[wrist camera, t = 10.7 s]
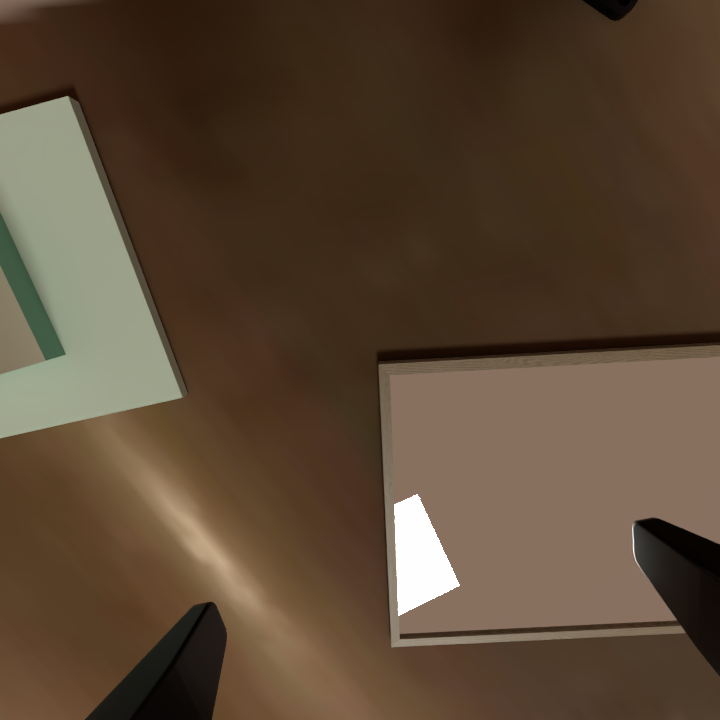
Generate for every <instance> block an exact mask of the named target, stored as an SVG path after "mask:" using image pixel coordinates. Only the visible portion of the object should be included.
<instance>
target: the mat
mask: <svg viewBox="0 0 720 720" xmlns="http://www.w3.org/2000/svg"><path fill="white" fill-rule="evenodd" d="M0 213H1V215H2V217H3V219H4V221H5V224H6V226H7V228H8V230H9V232H10V234H11V237H12V239H13V241H14V243H15V245H16V247H17V250H18V252H19V254H20V256H21V258H22V260H23V263H24V265H25V267H26V269H27V271H28V273H29V276H30V278H31V280H32V282H33V284H34V286H35V289H36V291H37V293H38V295H39V297H40V299H41V302H42V304H43V306H44V308H45V310H46V312H47V315H48V317H49V319H50V321H51V323H52V325H53V328H54V330H55V332H56V334H57V336H58V338H59V341H60V343H61V345H62V347H63V349H64V351H65V354H66V355H63V356H60V357H57V358H53V359H50V360H47V361H43V362H40V363H37V364H33V365H30V366H27V367H23V368H20V369H17V370H13V371H10V372H7V373H3V374H0V438H3V437H8V436H12V435H17V434H21V433H25V432H30V431H34V430H39V429H43V428H48V427H52V426H57V425H61V424H66V423H70V422H75V421H79V420H84V419H88V418H93V417H97V416H102V415H106V414H111V413H115V412H120V411H124V410H129V409H133V408H138V407H142V406H147V405H151V404H156V403H160V402H165V401H169V400H173V399H178V398H182V397H184V396H185V395H187V394H188V392H187V390H186V387H185V384H184V382H183V379H182V376H181V374H180V371H179V368H178V366H177V363H176V360H175V358H174V355H173V352H172V350H171V347H170V344H169V342H168V339H167V336H166V334H165V331H164V328H163V326H162V323H161V320H160V318H159V315H158V312H157V310H156V307H155V304H154V302H153V299H152V296H151V294H150V291H149V288H148V286H147V283H146V280H145V278H144V275H143V272H142V270H141V267H140V264H139V262H138V259H137V256H136V254H135V251H134V248H133V246H132V243H131V240H130V238H129V235H128V232H127V230H126V227H125V224H124V222H123V219H122V216H121V214H120V211H119V208H118V206H117V203H116V200H115V198H114V195H113V192H112V190H111V187H110V184H109V182H108V179H107V176H106V174H105V171H104V168H103V166H102V163H101V160H100V158H99V155H98V152H97V150H96V147H95V144H94V142H93V139H92V136H91V134H90V131H89V128H88V126H87V123H86V120H85V118H84V115H83V112H82V110H81V107H80V104H79V102H77V101H76V100H74V99H72V98H71V97H69V96H66V97H62V98H59V99H55V100H51V101H48V102H44V103H40V104H37V105H33V106H29V107H26V108H22V109H19V110H15V111H11V112H8V113H4V114H0Z"/></svg>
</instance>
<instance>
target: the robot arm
mask: <svg viewBox="0 0 720 720" xmlns="http://www.w3.org/2000/svg"><path fill="white" fill-rule="evenodd" d="M583 1H584V2H586V3H587V4H589V5H590V6H592V7H593V8H595V9H596V10H597V11H599V12H600V13H602V14H603V15H605V16H606V17H608V18H609V19H611V20H614V21H616V20H620V19H622V18H623V17H625V16H626V15H627V14H628V13H629V12H630V11H631V10H632V8H633V7H634V6H635V4H636V3H637V1H638V0H622V1H623V3H624V7H622V6H620V5H619V3H618V0H583ZM632 530H633V552H634V557H635V559H636V561H637V563H638V565H639V567H640V568H641V570H642V571H643V572H644V574H645V575H646V577H647V578H648V580H649V581H650V582H651V584H652V585H653V587H654V588H655V590H656V591H657V592H658V594H659V595H660V597H661V598H662V599H663V601H664V602H665V604H666V605H667V607H668V608H669V609H670V611H671V612H672V614H673V615H674V617H675V618H676V619H677V621H678V622H679V624H680V625H681V626H682V628H683V629H684V631H685V632H686V634H687V635H688V636H689V638H690V639H691V640H692V642H693V643H694V645H695V646H696V647H697V649H698V650H699V651H700V652H701V654H702V655H703V656H704V657H705V659H706V660H707V661H708V662H709V664H710V665H711V666H712V667H713V669H714V670H715V671H716V672H717V673H718V675H719V676H720V544H718V543H716V542H714V541H711V540H709V539H707V538H704V537H702V536H699V535H697V534H695V533H692V532H690V531H688V530H685V529H683V528H681V527H678V526H676V525H673V524H671V523H669V522H666V521H664V520H662V519H659V518H655V517H651V518H646V519H640V520H636V521H634V523H633V526H632ZM226 641H227V632H226V628H225V625H224V623H223V621H222V618H221V616H220V613H219V611H218V609H217V606H216V605H215V604H214V603H213V602H207V603H201V604H197V605H194V606H193V607H192V608H191V609H190V610H189V611H188V612H187V613H186V614H185V615H184V616H183V617H182V618H181V619H180V620H179V621H178V622H177V623H176V624H175V625H174V626H173V627H172V629H171V630H170V631H169V632H168V633H167V634H166V635H165V636H164V637H163V638H162V639H161V640H160V641H159V642H158V643H157V644H156V645H155V646H154V647H153V648H152V650H151V651H150V652H149V653H148V654H147V655H146V656H145V657H144V658H143V659H142V660H141V661H140V662H139V663H138V664H137V665H136V666H135V667H134V668H133V670H132V671H131V672H130V673H129V674H128V675H127V676H126V677H125V678H124V679H123V680H122V681H121V682H120V683H119V684H118V685H117V686H116V687H115V688H114V689H113V691H112V692H111V693H110V694H109V695H108V696H107V697H106V698H105V699H104V700H103V701H102V702H101V703H100V704H99V705H98V706H97V707H96V708H95V709H94V711H93V712H92V713H91V714H90V715H89V716H88V717H87V718H86V719H85V720H212V716H213V711H214V705H215V700H216V695H217V690H218V684H219V679H220V674H221V668H222V663H223V658H224V653H225V647H226Z"/></svg>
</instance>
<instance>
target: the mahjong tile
mask: <svg viewBox="0 0 720 720" xmlns="http://www.w3.org/2000/svg"><path fill="white" fill-rule="evenodd" d="M63 355H66V354H65V351H64V349H63V347H62V345H61V343H60V341H59V338H58V336H57V334H56V332H55V330H54V328H53V325H52V323H51V321H50V319H49V317H48V315H47V312H46V310H45V308H44V306H43V304H42V302H41V299H40V297H39V295H38V293H37V291H36V289H35V286H34V284H33V282H32V280H31V278H30V276H29V273H28V271H27V269H26V267H25V265H24V263H23V260H22V258H21V256H20V254H19V252H18V250H17V247H16V245H15V243H14V241H13V239H12V237H11V234H10V232H9V230H8V228H7V226H6V224H5V221H4V219H3V217H2V215H1V213H0V374H3V373H7V372H10V371H13V370H17V369H20V368H23V367H27V366H30V365H33V364H37V363H40V362H43V361H47V360H50V359H53V358H57V357H60V356H63Z"/></svg>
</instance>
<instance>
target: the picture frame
mask: <svg viewBox="0 0 720 720" xmlns="http://www.w3.org/2000/svg"><path fill="white" fill-rule="evenodd" d="M378 373H379V395H380V417H381V438H382V460H383V482H384V503H385V525H386V547H387V569H388V590H389V612H390V634H391V647H404V646H424V645H445V644H466V643H487V642H507V641H528V640H549V639H569V638H590V637H611V636H632V635H652V634H673V633H686V632H685V631H684V629H683V628H682V626H681V625H680V624H679V622H678V621H677V619H676V618H675V617H674V615H673V614H672V612H671V611H670V609H669V608H668V607H667V605H666V604H665V602H664V601H663V599H662V598H661V597H660V595H659V594H658V592H657V591H656V590H655V588H654V587H653V585H652V584H651V582H650V581H649V580H648V578H647V577H646V575H645V574H644V572H643V571H642V570H641V568H640V567H639V565H638V563H637V561H636V559H635V557H634V552H633V530H632V526H633V523H634V521H636V520H640V519H646V518H651V517H655V518H659V519H662V520H664V521H666V522H669V523H671V524H673V525H676V526H678V527H681V528H683V529H685V530H688V531H690V532H692V533H695V534H697V535H699V536H702V537H704V538H707V539H709V540H711V541H714V542H716V543H718V544H720V342H714V343H696V344H678V345H661V346H643V347H625V348H608V349H590V350H572V351H555V352H537V353H519V354H502V355H484V356H466V357H449V358H431V359H414V360H396V361H378Z"/></svg>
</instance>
